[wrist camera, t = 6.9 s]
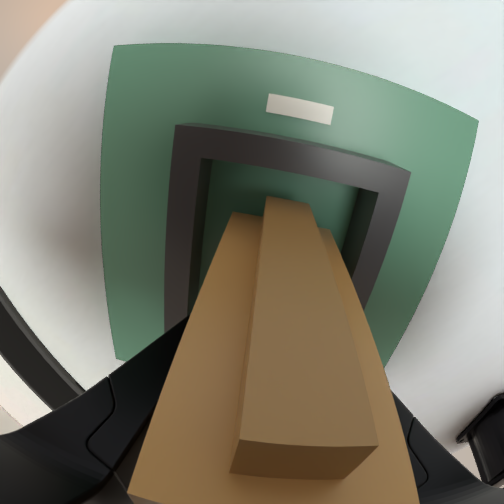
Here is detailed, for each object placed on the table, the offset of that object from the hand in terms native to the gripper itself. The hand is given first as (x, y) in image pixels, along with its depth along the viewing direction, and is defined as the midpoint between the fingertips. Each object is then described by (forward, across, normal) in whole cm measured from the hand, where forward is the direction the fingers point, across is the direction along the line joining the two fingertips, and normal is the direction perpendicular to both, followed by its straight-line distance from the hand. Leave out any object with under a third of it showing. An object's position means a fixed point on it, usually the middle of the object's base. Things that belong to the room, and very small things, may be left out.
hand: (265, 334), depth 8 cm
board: (+5, 0, 0) cm, 5 cm away
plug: (+2, 0, 0) cm, 3 cm away
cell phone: (+5, +16, +13) cm, 21 cm away
